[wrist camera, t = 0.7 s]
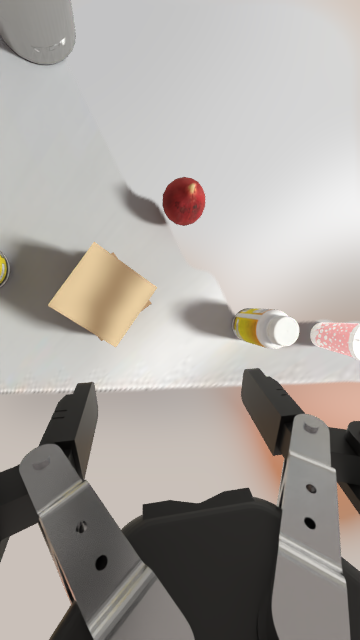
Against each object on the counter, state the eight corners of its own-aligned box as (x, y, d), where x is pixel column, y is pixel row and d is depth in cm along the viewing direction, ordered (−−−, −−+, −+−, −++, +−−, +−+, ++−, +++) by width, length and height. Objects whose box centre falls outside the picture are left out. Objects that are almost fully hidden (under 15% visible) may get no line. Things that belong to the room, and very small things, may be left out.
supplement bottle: (245, 347, 41) (285, 361, 31) (224, 325, 40) (259, 332, 30) (266, 323, 42) (312, 330, 32) (246, 301, 41) (287, 301, 31)
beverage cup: (306, 351, 45) (388, 373, 31) (307, 318, 44) (392, 325, 31) (332, 349, 46) (422, 370, 33) (334, 318, 46) (426, 325, 32)
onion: (200, 225, 38) (221, 206, 30) (166, 236, 36) (179, 218, 29) (188, 188, 37) (207, 157, 29) (153, 197, 35) (163, 168, 28)
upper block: (59, 304, 29) (47, 305, 24) (97, 251, 30) (94, 241, 25) (115, 340, 31) (115, 347, 26) (151, 289, 32) (157, 287, 27)
